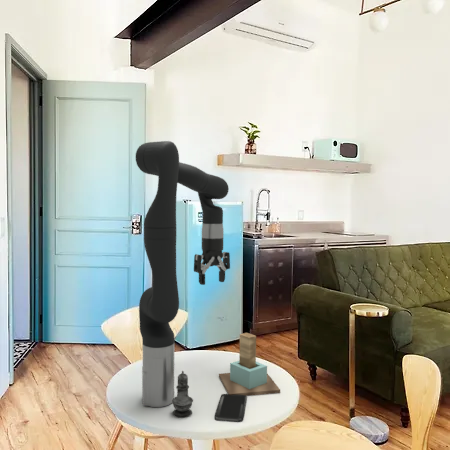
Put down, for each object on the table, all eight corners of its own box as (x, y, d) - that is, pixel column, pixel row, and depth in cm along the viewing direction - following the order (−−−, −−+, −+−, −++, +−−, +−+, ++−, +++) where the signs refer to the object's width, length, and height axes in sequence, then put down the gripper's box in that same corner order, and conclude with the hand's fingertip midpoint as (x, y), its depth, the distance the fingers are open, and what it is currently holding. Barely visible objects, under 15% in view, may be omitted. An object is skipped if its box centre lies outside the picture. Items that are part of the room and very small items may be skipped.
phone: (213, 417, 121) (221, 393, 136) (213, 421, 121) (221, 397, 136) (243, 419, 120) (247, 395, 135) (242, 423, 120) (247, 398, 135)
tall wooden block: (248, 381, 142) (249, 337, 141) (239, 376, 146) (239, 334, 145) (255, 379, 144) (256, 336, 143) (246, 374, 148) (246, 332, 147)
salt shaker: (168, 416, 123) (168, 373, 123) (176, 406, 129) (177, 365, 128) (188, 419, 122) (188, 375, 121) (196, 409, 127) (196, 368, 126)
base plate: (229, 397, 135) (229, 394, 135) (218, 376, 151) (218, 373, 151) (280, 392, 139) (280, 389, 139) (264, 373, 154) (264, 370, 154)
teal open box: (249, 389, 139) (249, 371, 138) (230, 379, 146) (230, 363, 145) (266, 382, 144) (267, 365, 143) (247, 374, 151) (247, 358, 150)
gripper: (202, 238, 148) (202, 287, 149) (235, 236, 157) (234, 282, 158) (189, 236, 154) (189, 283, 155) (221, 234, 163) (221, 279, 164)
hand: (212, 283), depth 157 cm, fingers open, 8 cm apart
